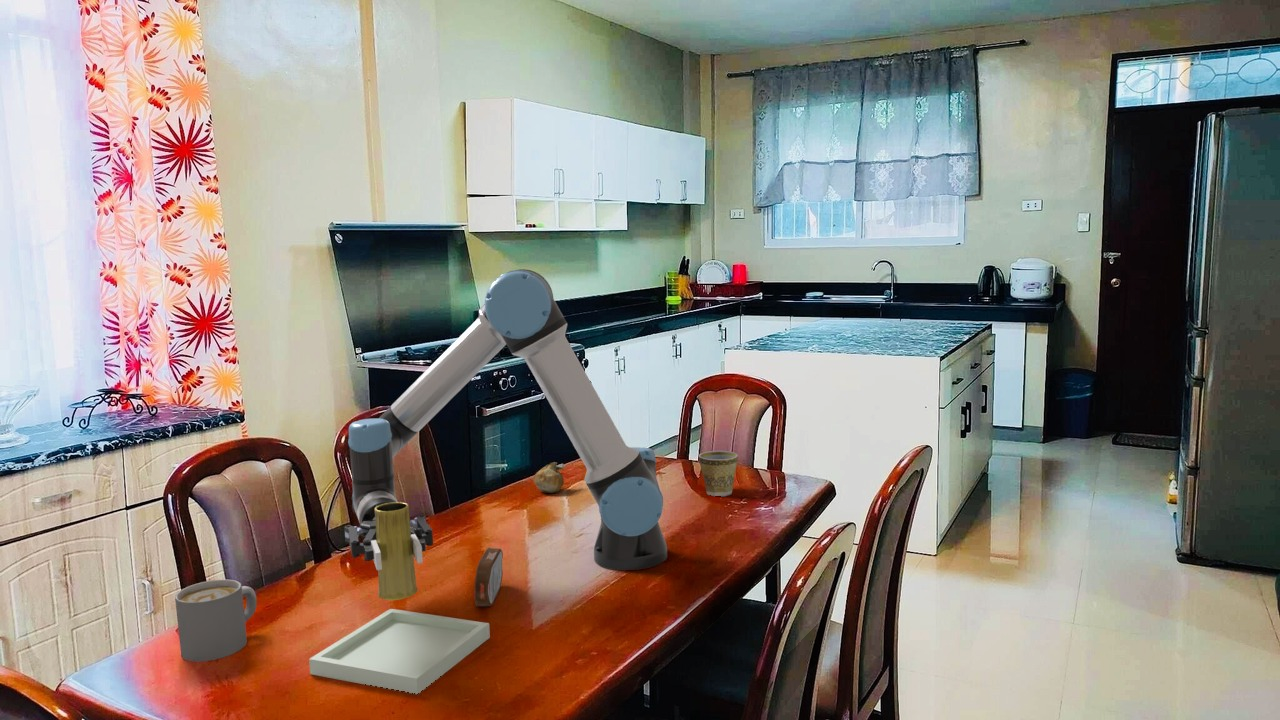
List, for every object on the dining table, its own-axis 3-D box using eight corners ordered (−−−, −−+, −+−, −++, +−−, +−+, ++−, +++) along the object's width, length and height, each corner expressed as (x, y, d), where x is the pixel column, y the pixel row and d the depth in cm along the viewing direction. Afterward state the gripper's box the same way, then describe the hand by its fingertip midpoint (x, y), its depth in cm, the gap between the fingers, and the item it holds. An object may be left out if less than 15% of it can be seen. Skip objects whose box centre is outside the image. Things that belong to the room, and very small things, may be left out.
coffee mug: (198, 667, 142) (191, 607, 141) (170, 651, 148) (164, 593, 147) (277, 637, 152) (272, 580, 151) (248, 623, 159) (243, 569, 157)
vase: (425, 587, 144) (419, 502, 143) (403, 602, 139) (396, 513, 137) (393, 584, 146) (386, 499, 145) (370, 598, 141) (363, 511, 139)
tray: (489, 637, 149) (489, 623, 149) (417, 694, 131) (416, 678, 131) (391, 622, 157) (390, 608, 156) (310, 674, 138) (309, 658, 138)
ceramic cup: (740, 498, 225) (739, 459, 223) (700, 499, 225) (699, 460, 224) (735, 484, 238) (734, 447, 236) (698, 485, 238) (697, 448, 236)
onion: (538, 488, 241) (537, 459, 240) (567, 488, 240) (566, 459, 239) (531, 496, 233) (529, 466, 232) (561, 496, 232) (559, 466, 231)
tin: (490, 582, 174) (488, 541, 173) (506, 582, 174) (504, 540, 173) (473, 614, 159) (470, 569, 158) (491, 614, 159) (488, 568, 158)
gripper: (435, 529, 162) (460, 571, 141) (328, 546, 155) (338, 592, 134) (432, 489, 161) (458, 525, 140) (324, 504, 154) (334, 544, 133)
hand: (399, 557), depth 137 cm, fingers closed on vase, 5 cm apart
